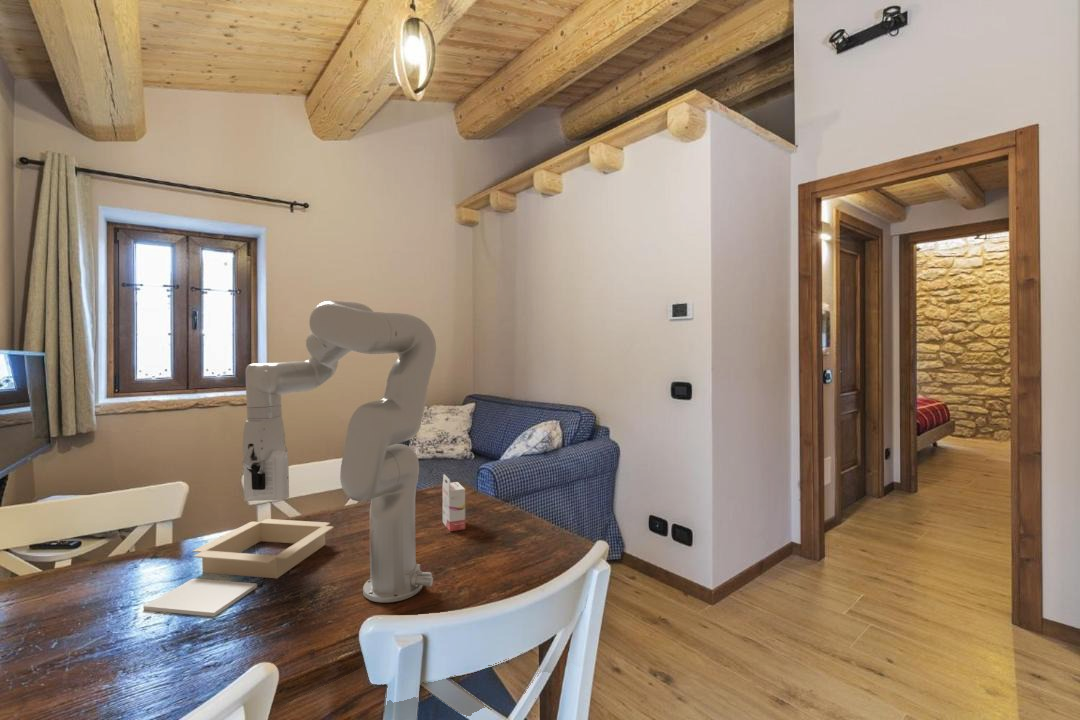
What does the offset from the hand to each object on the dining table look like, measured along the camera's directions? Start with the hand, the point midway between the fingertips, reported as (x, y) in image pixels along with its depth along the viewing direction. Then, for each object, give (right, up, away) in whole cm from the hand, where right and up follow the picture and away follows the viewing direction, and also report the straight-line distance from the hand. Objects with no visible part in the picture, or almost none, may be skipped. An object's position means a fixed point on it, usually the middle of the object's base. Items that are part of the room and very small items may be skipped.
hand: (267, 485), depth 126 cm
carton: (0, -18, +1) cm, 18 cm away
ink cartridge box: (+43, -18, +23) cm, 51 cm away
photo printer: (0, -4, 0) cm, 4 cm away
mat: (-3, -19, -19) cm, 27 cm away
